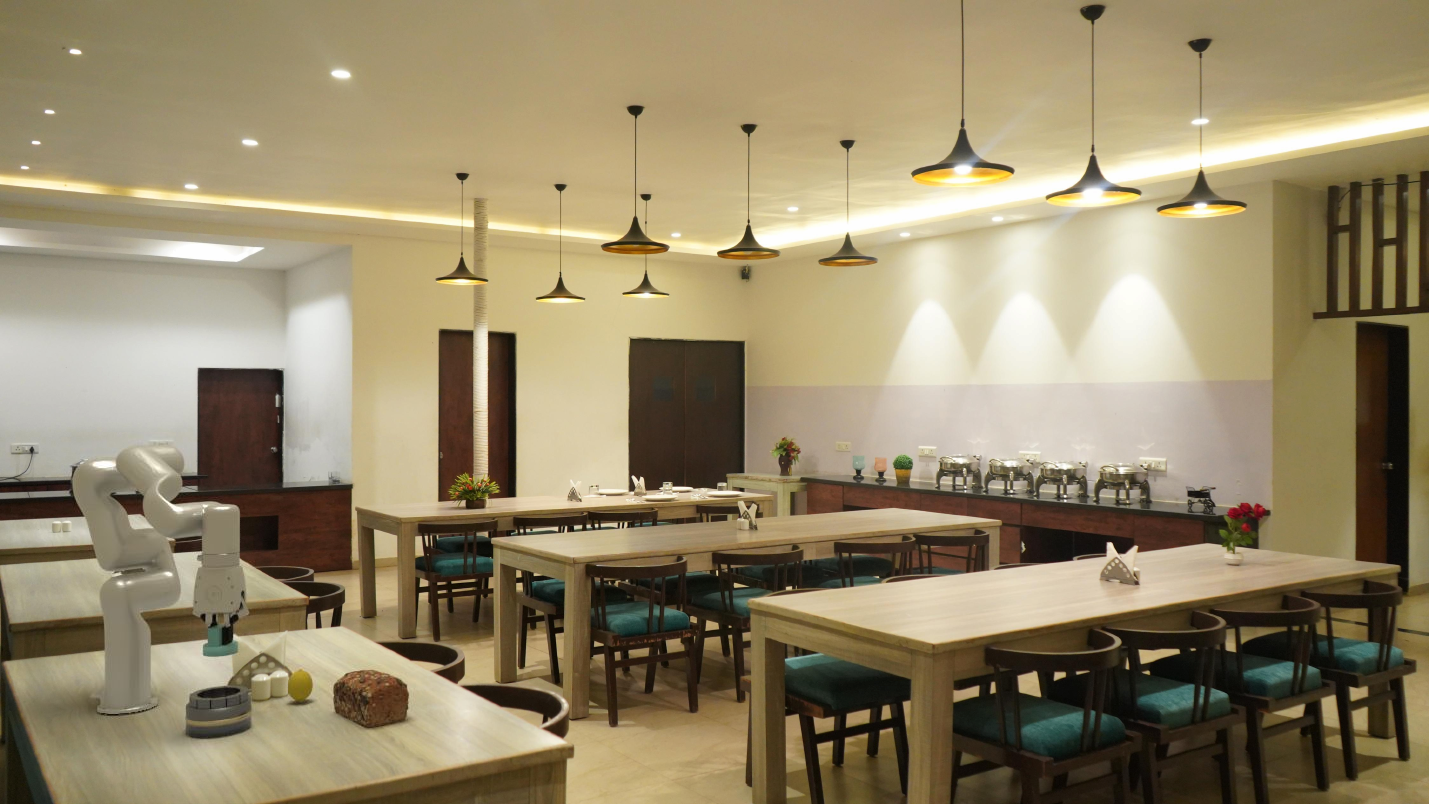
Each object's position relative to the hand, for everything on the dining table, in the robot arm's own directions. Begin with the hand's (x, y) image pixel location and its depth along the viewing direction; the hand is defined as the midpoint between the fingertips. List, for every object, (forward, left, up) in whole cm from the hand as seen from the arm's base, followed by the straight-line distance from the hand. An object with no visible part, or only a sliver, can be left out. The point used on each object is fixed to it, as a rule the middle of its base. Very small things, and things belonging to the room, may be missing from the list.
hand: (220, 642), depth 227 cm
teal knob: (0, 0, -2) cm, 2 cm away
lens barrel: (0, 0, -19) cm, 19 cm away
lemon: (+8, +21, -19) cm, 29 cm away
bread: (+29, +11, -19) cm, 37 cm away
